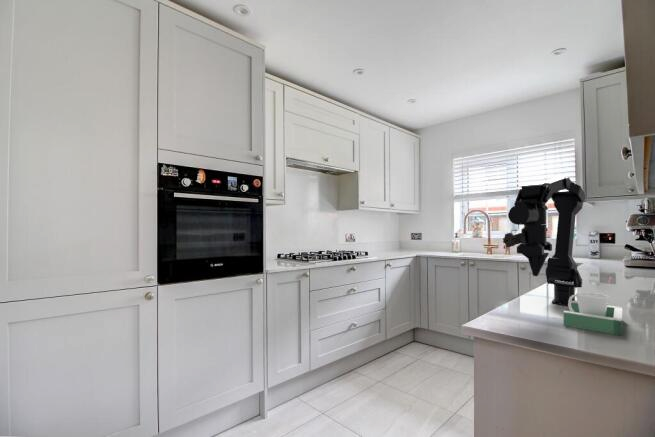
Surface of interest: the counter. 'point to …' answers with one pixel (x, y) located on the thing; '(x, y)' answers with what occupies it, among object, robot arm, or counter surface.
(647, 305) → the counter surface
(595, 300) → the cup
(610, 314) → the pocket
